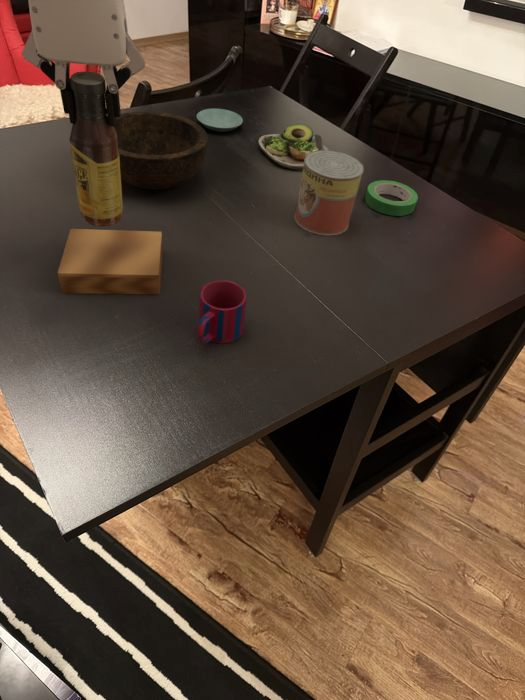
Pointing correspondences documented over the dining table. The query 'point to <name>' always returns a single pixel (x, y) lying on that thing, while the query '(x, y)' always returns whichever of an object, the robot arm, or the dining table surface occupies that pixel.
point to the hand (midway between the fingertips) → (93, 119)
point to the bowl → (159, 149)
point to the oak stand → (111, 262)
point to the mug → (221, 312)
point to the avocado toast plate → (291, 146)
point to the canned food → (327, 192)
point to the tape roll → (387, 205)
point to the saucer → (219, 119)
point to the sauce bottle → (95, 153)
